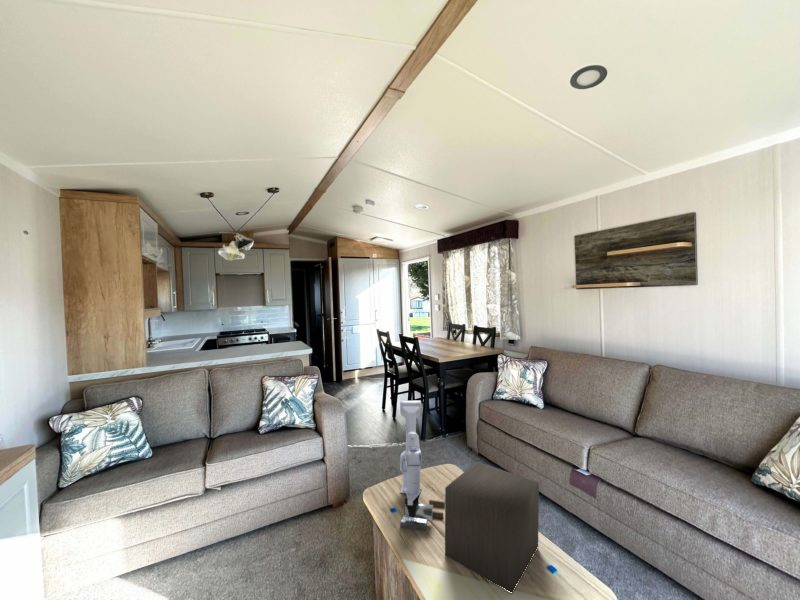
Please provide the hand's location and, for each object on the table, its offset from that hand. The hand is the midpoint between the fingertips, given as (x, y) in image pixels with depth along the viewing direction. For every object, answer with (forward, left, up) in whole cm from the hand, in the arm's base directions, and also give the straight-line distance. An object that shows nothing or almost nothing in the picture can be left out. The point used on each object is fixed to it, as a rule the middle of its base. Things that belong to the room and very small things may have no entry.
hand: (413, 511), depth 141 cm
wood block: (+10, +31, -4) cm, 33 cm away
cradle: (0, 0, -4) cm, 4 cm away
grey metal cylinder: (0, +2, -2) cm, 3 cm away
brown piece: (-9, +8, -4) cm, 13 cm away
